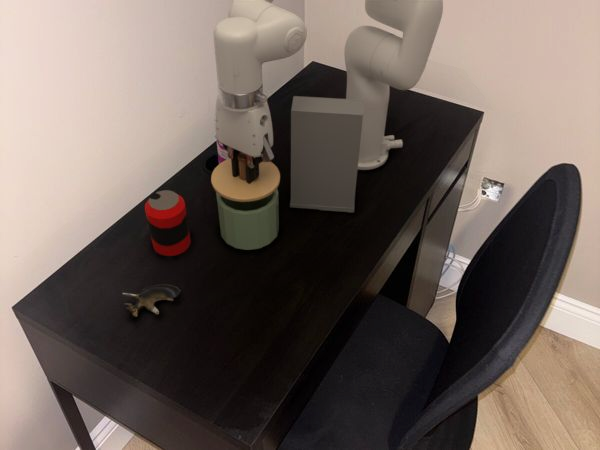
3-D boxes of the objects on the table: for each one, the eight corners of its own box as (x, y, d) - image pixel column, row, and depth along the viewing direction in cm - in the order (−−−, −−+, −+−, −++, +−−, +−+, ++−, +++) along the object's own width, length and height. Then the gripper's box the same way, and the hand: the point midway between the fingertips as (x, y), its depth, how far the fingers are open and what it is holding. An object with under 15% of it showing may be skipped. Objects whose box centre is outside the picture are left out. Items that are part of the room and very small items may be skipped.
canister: (273, 208, 131) (272, 170, 124) (283, 247, 123) (282, 209, 115) (218, 215, 129) (213, 177, 122) (224, 255, 121) (219, 216, 113)
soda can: (168, 226, 126) (159, 182, 118) (198, 238, 124) (191, 194, 116) (145, 249, 122) (135, 205, 113) (176, 262, 119) (167, 218, 111)
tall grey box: (354, 194, 134) (364, 97, 117) (353, 213, 130) (363, 115, 113) (292, 190, 135) (293, 93, 118) (289, 209, 131) (290, 111, 113)
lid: (274, 157, 122) (273, 131, 118) (285, 199, 113) (285, 173, 109) (208, 164, 120) (205, 138, 116) (215, 208, 111) (212, 181, 107)
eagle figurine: (148, 333, 105) (188, 301, 109) (124, 303, 103) (166, 270, 106) (136, 323, 112) (175, 293, 115) (114, 294, 109) (154, 264, 113)
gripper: (292, 97, 102) (291, 181, 115) (217, 69, 108) (225, 152, 121) (266, 118, 97) (268, 203, 110) (190, 87, 104) (200, 171, 117)
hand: (245, 175), depth 116 cm, fingers closed on lid, 2 cm apart
